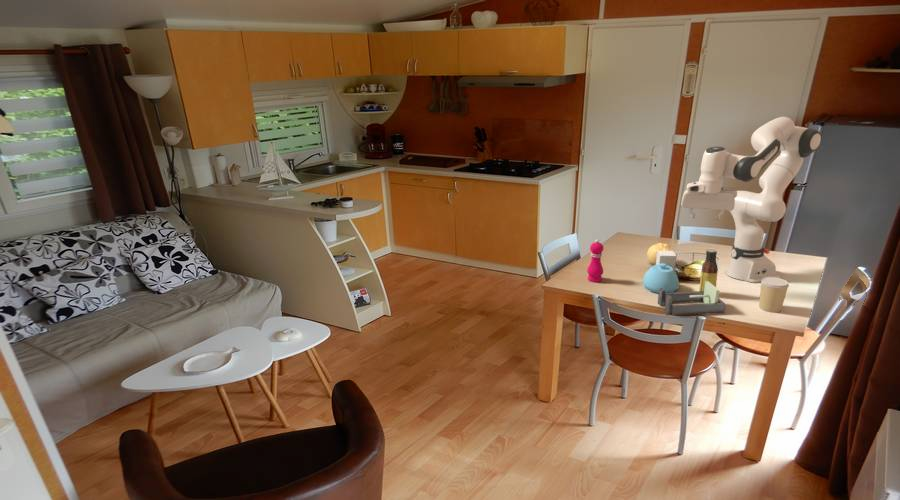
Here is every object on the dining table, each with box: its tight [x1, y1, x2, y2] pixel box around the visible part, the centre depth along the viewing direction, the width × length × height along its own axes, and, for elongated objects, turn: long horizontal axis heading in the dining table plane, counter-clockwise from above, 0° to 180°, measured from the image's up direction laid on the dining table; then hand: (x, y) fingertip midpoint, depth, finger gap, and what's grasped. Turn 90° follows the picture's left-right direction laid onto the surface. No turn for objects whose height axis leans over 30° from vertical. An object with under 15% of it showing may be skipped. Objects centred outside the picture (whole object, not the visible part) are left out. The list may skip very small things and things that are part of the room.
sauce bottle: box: [699, 248, 719, 291], centre depth 220 cm, size 7×6×20 cm
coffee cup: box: [758, 277, 790, 314], centre depth 207 cm, size 9×9×12 cm
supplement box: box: [656, 250, 677, 272], centre depth 239 cm, size 7×7×13 cm
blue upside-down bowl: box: [642, 263, 680, 294], centre depth 229 cm, size 15×15×12 cm
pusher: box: [689, 281, 721, 304], centre depth 211 cm, size 9×9×9 cm
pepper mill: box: [586, 239, 605, 283], centre depth 239 cm, size 7×7×20 cm
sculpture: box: [646, 242, 673, 266], centre depth 256 cm, size 12×12×11 cm
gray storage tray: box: [657, 288, 727, 316], centre depth 211 cm, size 22×12×7 cm, turn 91°
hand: (705, 218), depth 218 cm, fingers open, 8 cm apart
